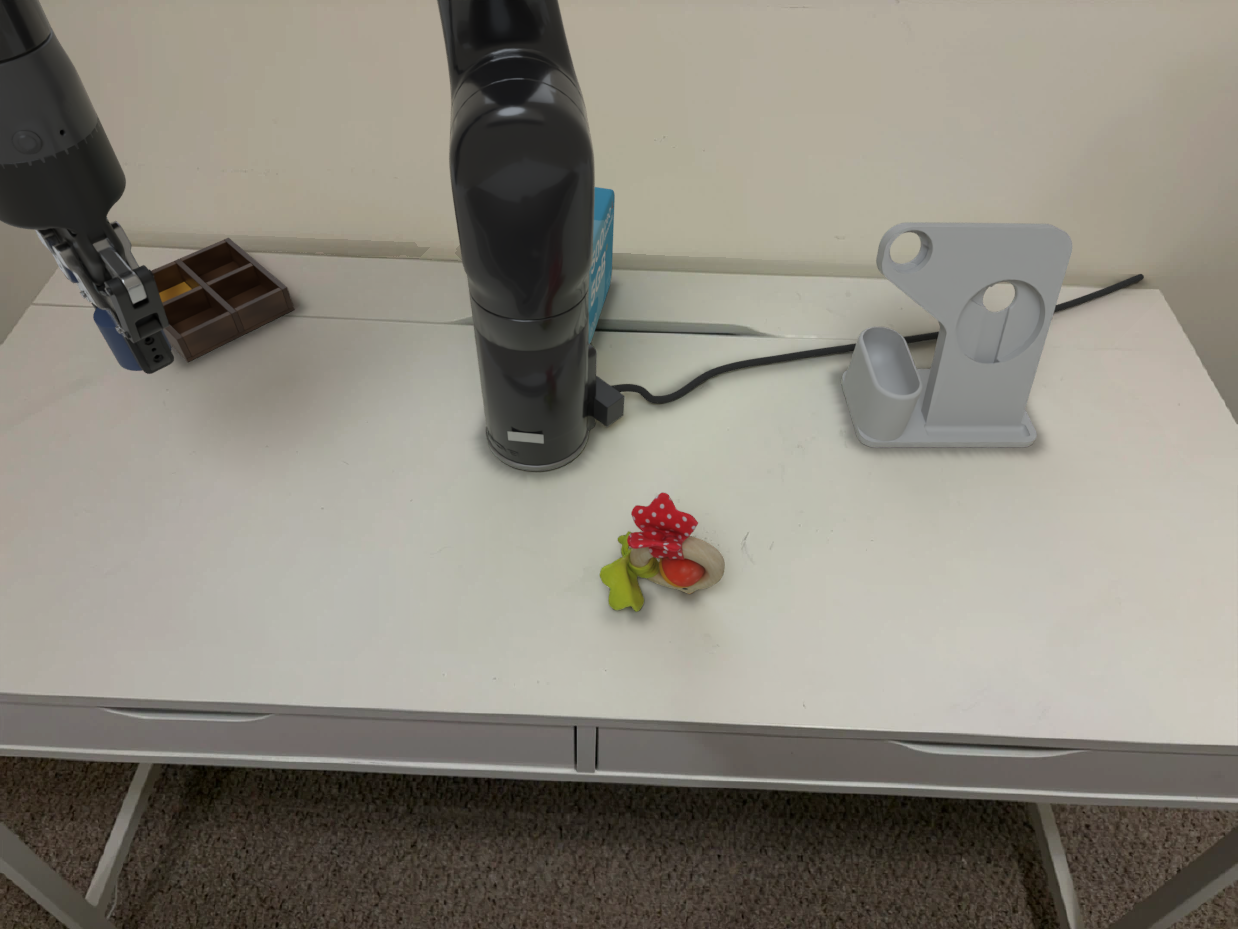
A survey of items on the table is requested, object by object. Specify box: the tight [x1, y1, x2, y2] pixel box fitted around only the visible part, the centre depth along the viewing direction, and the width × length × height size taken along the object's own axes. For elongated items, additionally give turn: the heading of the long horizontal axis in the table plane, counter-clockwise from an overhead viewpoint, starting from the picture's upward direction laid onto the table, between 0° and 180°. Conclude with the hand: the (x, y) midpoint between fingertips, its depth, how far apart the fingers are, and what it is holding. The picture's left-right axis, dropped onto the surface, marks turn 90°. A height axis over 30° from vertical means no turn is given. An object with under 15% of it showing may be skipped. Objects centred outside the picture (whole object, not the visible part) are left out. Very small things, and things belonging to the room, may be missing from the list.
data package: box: [588, 186, 616, 345], centre depth 83 cm, size 12×4×12 cm, turn 169°
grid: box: [151, 237, 295, 363], centre depth 85 cm, size 12×12×3 cm
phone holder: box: [840, 221, 1073, 448], centre depth 73 cm, size 17×10×18 cm, turn 92°
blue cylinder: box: [92, 307, 172, 372], centre depth 58 cm, size 4×4×4 cm
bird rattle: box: [599, 492, 726, 613], centre depth 62 cm, size 6×11×9 cm
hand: (144, 351), depth 59 cm, fingers closed on blue cylinder, 3 cm apart
